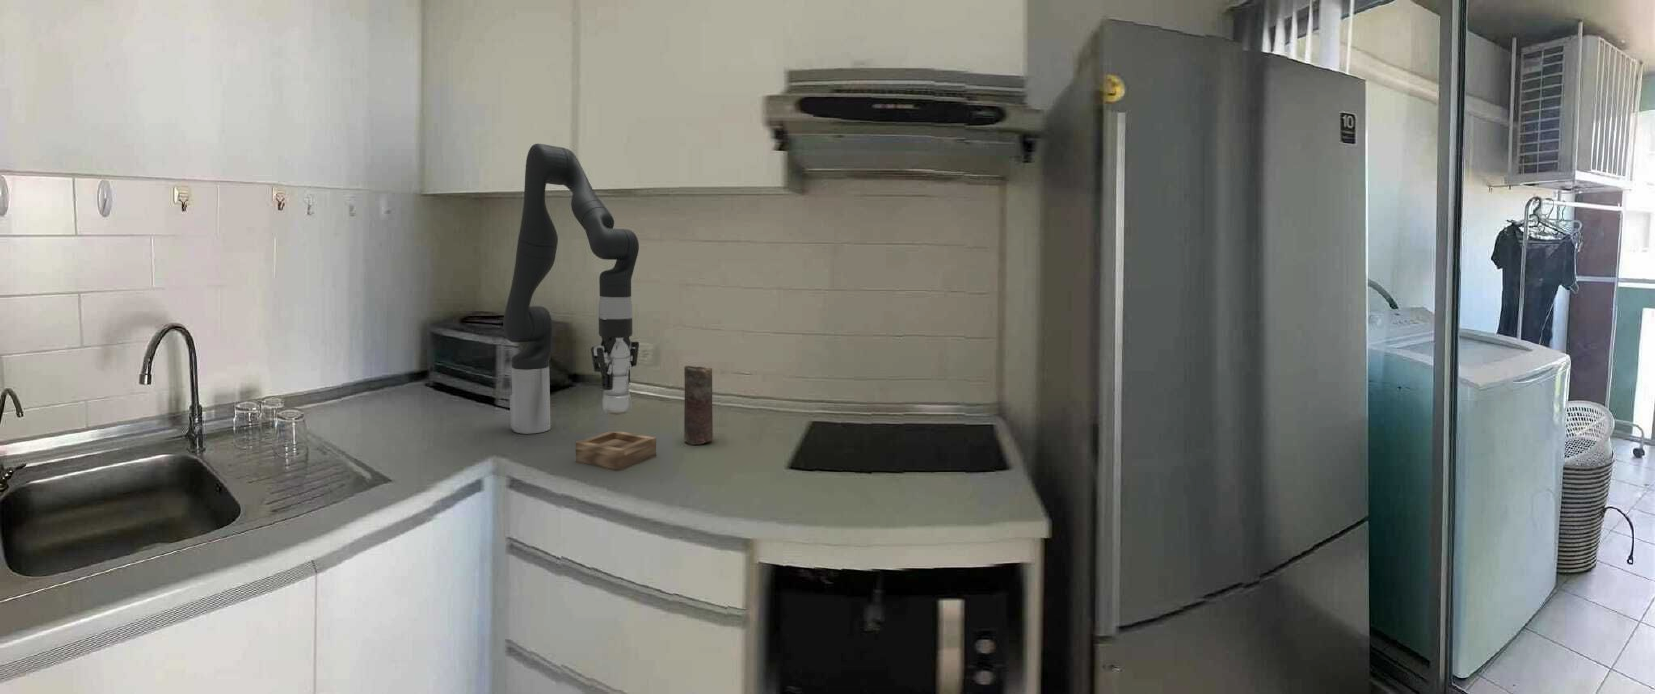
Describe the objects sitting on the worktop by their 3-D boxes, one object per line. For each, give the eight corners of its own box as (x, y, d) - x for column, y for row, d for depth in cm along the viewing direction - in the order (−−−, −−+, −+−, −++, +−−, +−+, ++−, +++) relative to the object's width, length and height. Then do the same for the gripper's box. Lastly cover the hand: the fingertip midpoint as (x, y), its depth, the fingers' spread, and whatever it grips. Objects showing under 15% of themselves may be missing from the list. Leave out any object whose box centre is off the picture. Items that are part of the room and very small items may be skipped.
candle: (681, 438, 185) (681, 364, 182) (708, 436, 188) (709, 363, 185) (687, 446, 178) (688, 369, 175) (715, 444, 181) (716, 368, 178)
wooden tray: (575, 461, 163) (575, 442, 163) (614, 447, 175) (613, 430, 174) (619, 470, 158) (619, 451, 157) (656, 455, 170) (656, 437, 169)
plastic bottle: (623, 418, 161) (622, 332, 158) (596, 416, 163) (595, 331, 160) (636, 411, 168) (635, 329, 165) (610, 409, 169) (609, 327, 166)
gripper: (623, 312, 170) (624, 381, 172) (580, 317, 157) (581, 391, 159) (648, 314, 167) (648, 384, 169) (606, 319, 154) (607, 394, 156)
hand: (616, 387), depth 164 cm, fingers closed on plastic bottle, 5 cm apart
